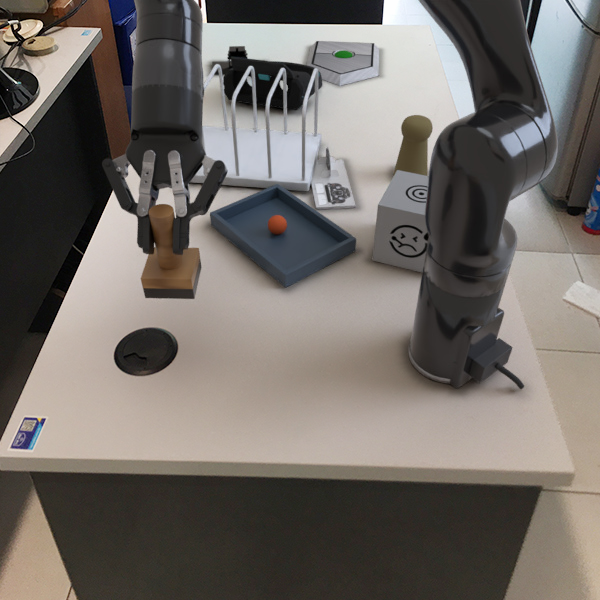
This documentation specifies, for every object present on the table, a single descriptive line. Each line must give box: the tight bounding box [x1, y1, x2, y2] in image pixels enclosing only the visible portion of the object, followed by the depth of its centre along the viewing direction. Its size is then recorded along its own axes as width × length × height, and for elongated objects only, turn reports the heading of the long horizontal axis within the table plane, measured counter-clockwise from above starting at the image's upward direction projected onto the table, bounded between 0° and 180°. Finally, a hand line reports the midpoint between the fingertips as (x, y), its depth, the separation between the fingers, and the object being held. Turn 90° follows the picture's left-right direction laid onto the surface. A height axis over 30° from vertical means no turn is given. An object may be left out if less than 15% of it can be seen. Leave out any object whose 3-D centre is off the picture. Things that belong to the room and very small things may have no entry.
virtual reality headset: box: [222, 56, 323, 111], centre depth 134 cm, size 19×22×10 cm
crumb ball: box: [268, 215, 287, 235], centre depth 98 cm, size 3×3×3 cm
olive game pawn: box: [393, 114, 433, 177], centre depth 108 cm, size 6×6×11 cm
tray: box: [209, 184, 357, 288], centre depth 98 cm, size 20×14×2 cm
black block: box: [210, 45, 265, 76], centre depth 146 cm, size 12×7×5 cm, turn 93°
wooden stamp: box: [140, 203, 203, 300], centre depth 69 cm, size 6×6×10 cm
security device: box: [305, 40, 380, 87], centre depth 147 cm, size 17×22×2 cm
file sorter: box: [190, 64, 323, 192], centre depth 110 cm, size 25×17×16 cm
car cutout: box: [310, 146, 356, 211], centre depth 109 cm, size 15×7×4 cm, turn 5°
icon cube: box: [371, 170, 429, 274], centre depth 93 cm, size 10×10×10 cm
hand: (163, 253), depth 67 cm, fingers closed on wooden stamp, 2 cm apart
